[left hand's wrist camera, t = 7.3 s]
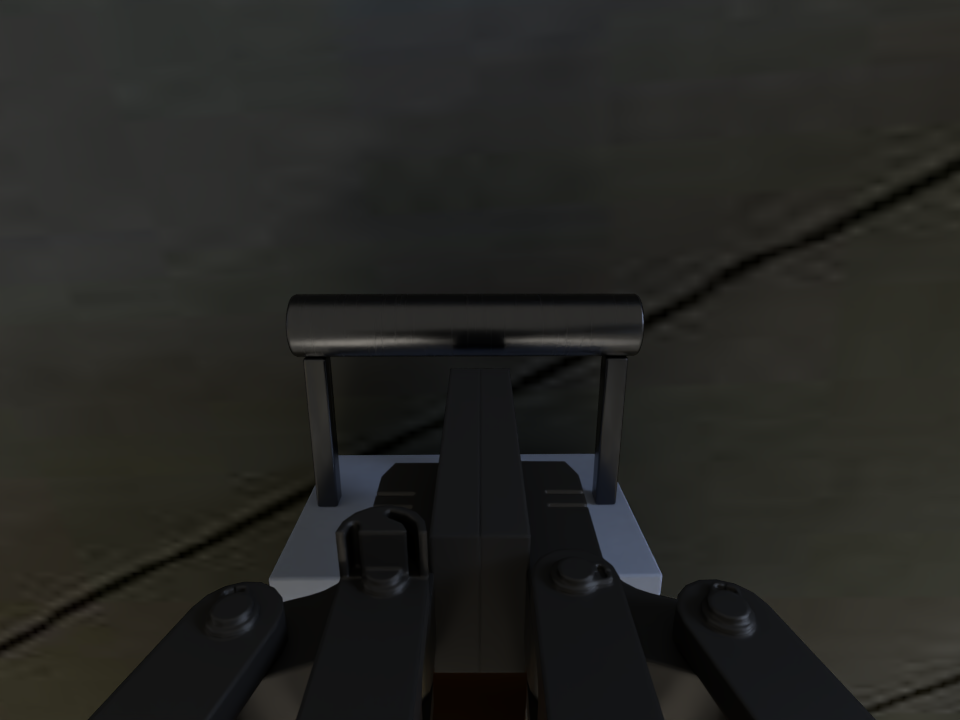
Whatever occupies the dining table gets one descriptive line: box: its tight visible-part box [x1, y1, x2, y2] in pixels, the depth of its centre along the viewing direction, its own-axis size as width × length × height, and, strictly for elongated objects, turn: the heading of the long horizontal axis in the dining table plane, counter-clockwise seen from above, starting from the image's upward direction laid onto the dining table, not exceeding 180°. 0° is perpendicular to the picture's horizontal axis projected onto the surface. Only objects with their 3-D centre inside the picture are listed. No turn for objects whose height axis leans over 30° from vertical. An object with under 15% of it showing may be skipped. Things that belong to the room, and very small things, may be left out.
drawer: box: [269, 294, 662, 720], centre depth 18 cm, size 21×9×6 cm, turn 0°
